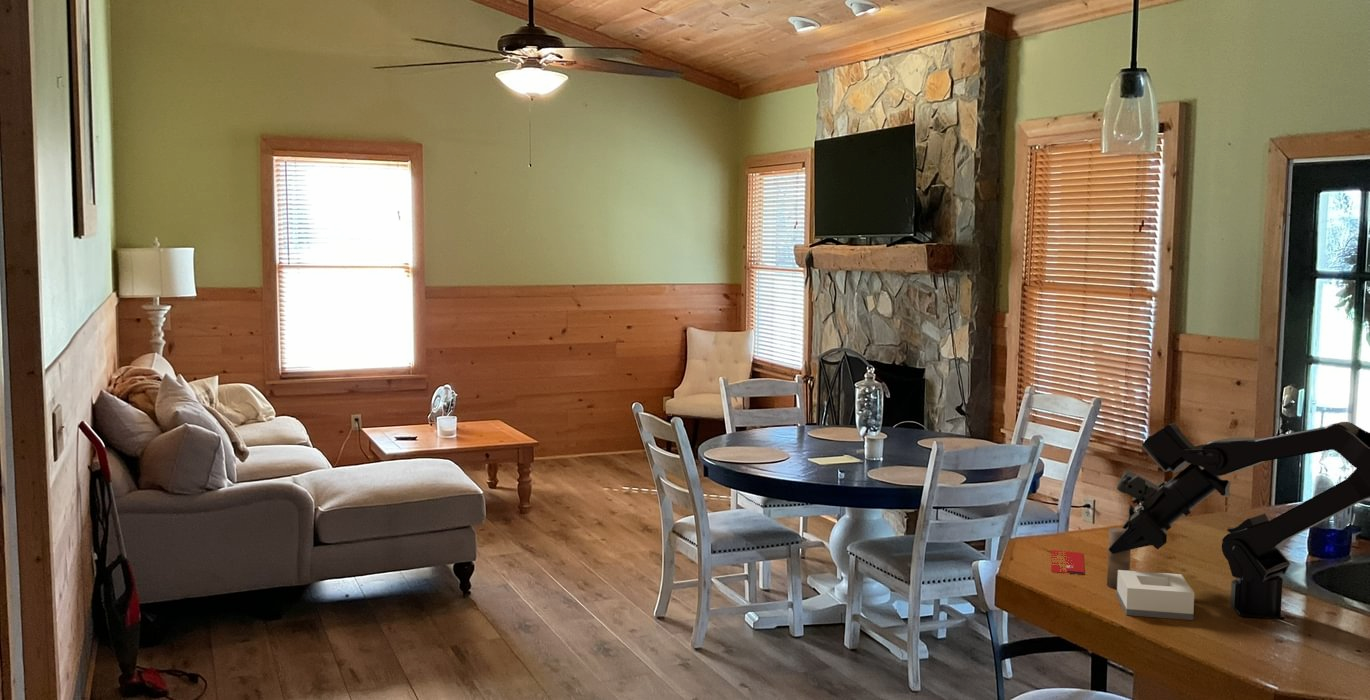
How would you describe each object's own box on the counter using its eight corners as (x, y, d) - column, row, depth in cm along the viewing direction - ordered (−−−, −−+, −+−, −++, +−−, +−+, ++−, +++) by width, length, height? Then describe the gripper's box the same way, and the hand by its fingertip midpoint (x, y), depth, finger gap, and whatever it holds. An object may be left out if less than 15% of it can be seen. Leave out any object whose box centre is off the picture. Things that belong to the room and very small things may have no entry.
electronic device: (1051, 552, 211) (1051, 574, 197) (1051, 549, 211) (1051, 571, 197) (1083, 555, 209) (1084, 577, 195) (1083, 552, 209) (1085, 574, 195)
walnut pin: (1127, 583, 190) (1129, 528, 189) (1130, 590, 186) (1132, 533, 185) (1105, 582, 191) (1107, 527, 190) (1108, 588, 187) (1110, 532, 186)
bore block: (1179, 600, 181) (1181, 574, 181) (1193, 620, 171) (1194, 592, 171) (1116, 595, 183) (1117, 569, 183) (1126, 615, 174) (1127, 587, 173)
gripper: (1148, 447, 193) (1080, 502, 199) (1147, 467, 176) (1074, 526, 182) (1194, 495, 191) (1124, 548, 196) (1198, 519, 174) (1122, 577, 179)
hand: (1110, 548), depth 188 cm, fingers closed on walnut pin, 4 cm apart
